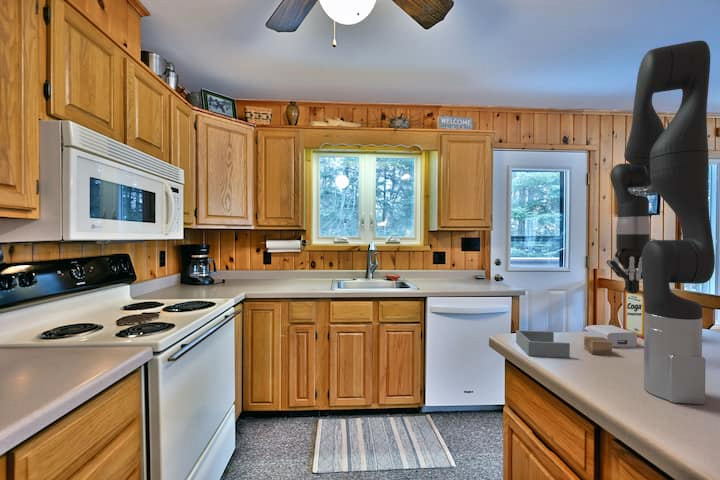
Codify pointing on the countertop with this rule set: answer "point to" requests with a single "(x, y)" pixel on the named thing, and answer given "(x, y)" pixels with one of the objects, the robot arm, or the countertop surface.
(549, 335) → the box
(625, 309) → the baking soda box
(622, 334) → the charger
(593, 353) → the brown wooden block
